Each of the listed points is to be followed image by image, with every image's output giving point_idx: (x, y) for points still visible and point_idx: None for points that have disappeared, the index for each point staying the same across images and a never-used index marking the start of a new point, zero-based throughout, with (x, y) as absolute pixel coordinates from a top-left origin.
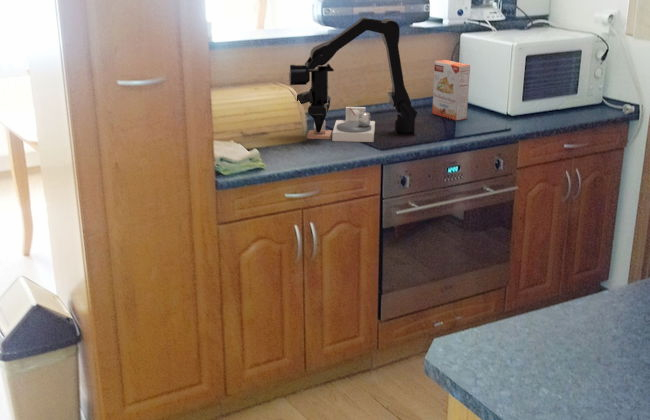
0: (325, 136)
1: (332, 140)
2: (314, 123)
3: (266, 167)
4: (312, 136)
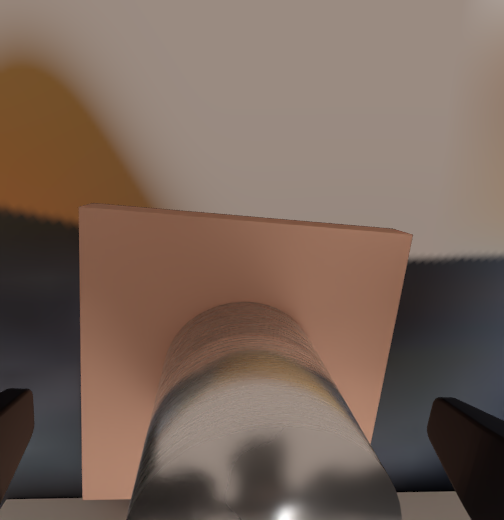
0: (83, 447)
1: (2, 506)
2: (202, 401)
3: None
4: (81, 285)
